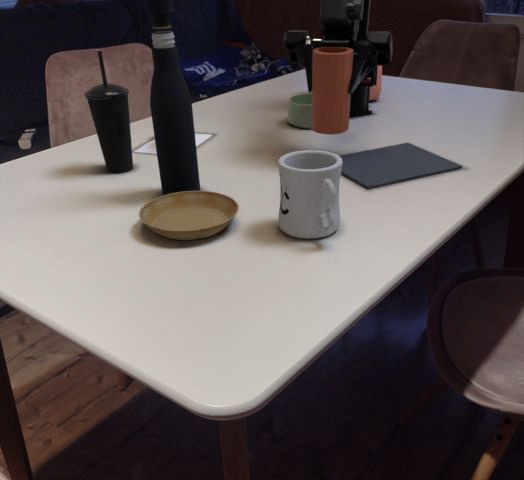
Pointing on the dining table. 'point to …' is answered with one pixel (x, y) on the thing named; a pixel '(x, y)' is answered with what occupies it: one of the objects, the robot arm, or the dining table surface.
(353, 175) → the felt mat
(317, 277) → the dining table surface
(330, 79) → the terracotta jar
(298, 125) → the sage bowl
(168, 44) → the wine bottle
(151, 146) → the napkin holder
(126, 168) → the drinking cup
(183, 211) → the plant saucer
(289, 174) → the mug
